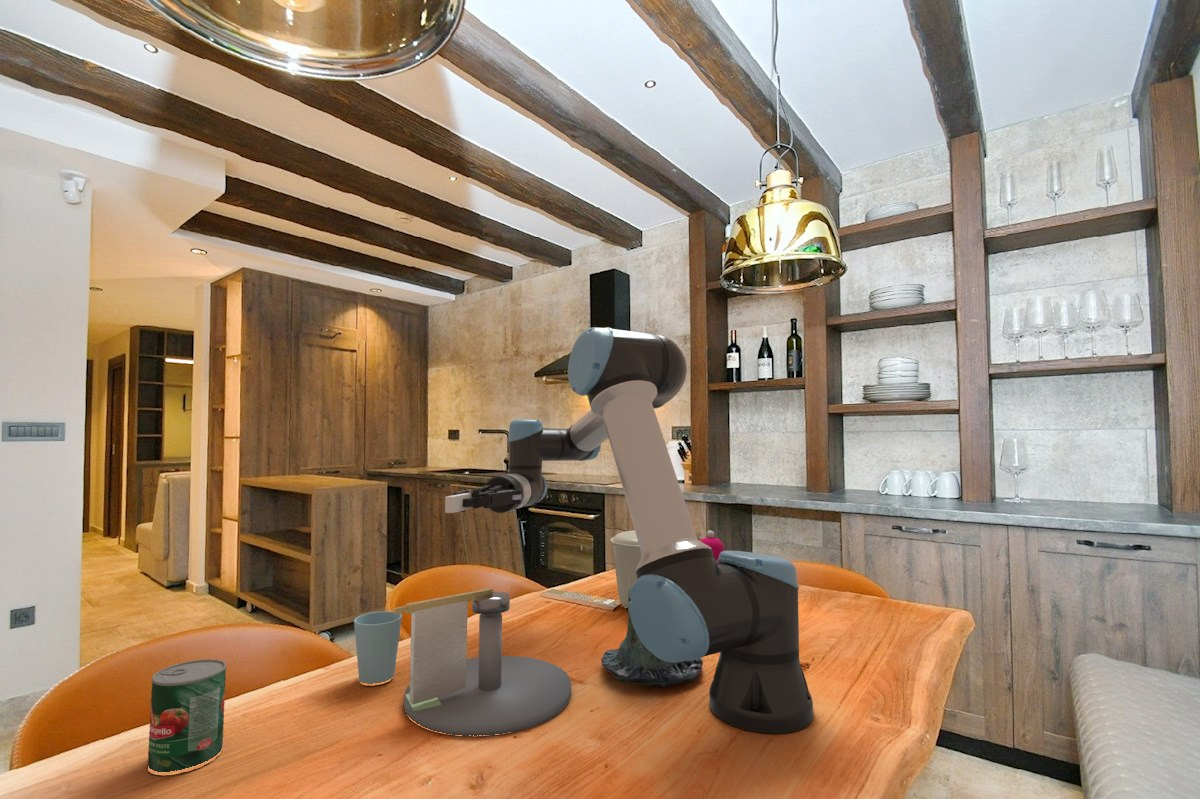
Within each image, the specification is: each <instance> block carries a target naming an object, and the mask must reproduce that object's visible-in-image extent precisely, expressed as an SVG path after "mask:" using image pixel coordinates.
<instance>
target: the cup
mask: <svg viewBox="0 0 1200 799" xmlns="http://www.w3.org/2000/svg"><path fill="white" fill-rule="evenodd" d="M402 619H403V613H400V614H394V610H393V611H390V610H389V611H388V610H387V611H386V610H383V611H382V610H381V611H374V612H368V613H364V614H360V615H359V616H357V617H355V618H354V620H353V625H354V634H355V636H354V637H355V647H356V657H357V658H356V659H357V672H358V681H360V682H362V683H367V684H373V683H381V682H385V681H387V680H389V679H391V678H392V677H393V676H394V677H395V670H396V663H397V655H398V648H399V641H400V640H399V639H400V635H401V628H402ZM360 682H359V683H360Z"/></svg>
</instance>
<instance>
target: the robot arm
mask: <svg viewBox="0 0 1200 799" xmlns="http://www.w3.org/2000/svg"><path fill="white" fill-rule="evenodd" d="M569 356H570V357H569V358H568V365H567V378H568V383H569V386H570V389H571V390H572V391H573V392H574V393H575V394H576V395H579V396H582V397H583V396H585V397H586V396H587V399H588V403H589V406H590V410H589V411H587V412H586V413H585V414H584V415H583V416H582V417H581V418H579V419H578V420H577V421H575V422H574V424H573V425H571V426H570V427H568V428H549V427H543V426H544V425H543V422H542V420H540V419H513V420H511V422H510V423H509V426H508V427H509V428H508V438H507V443H508V448H507V449H508V469H507V472H508V473H507V474H504V475H503V474H500V475H495V476H493V477H491V478H490V479H488V481H487V482H486V483H485V484H484V485H482V487H477V488H476V489H467V488H463V489H461V490H458V491H456V492H455V491H454V492H452V495H447V496H445V501H444V502H445V503H444V504H445V505H444V506H445V507H444V513H445V514H454V513H459V512H460V513H464V512H466V511H469V510H472V509H479V508H484V509H489V510H491V512H494V513H497V514H503V513H507V512H510V513H514V512H515V510H516V509H520V508H523V507H529V506H530V507H531V506H533V505H536V504H537V503H539V502H541V501H542V500H543V499H544V498H545V497H546V495H547V492H548V482H547V479H546V478H545V476H544V475H543V473H542V472H543V471H542V470H543V462H547V461H548V462H549V461H550V462H555V461H556V462H559V461H560V462H561V461H570V462H571V461H573V462H574V461H577V462H583V461H590V460H595V459H596V458H597V457H598V455H599V453H600V451H601V446H602V444H603V443H604V442H606V441H607V440H609V441H608V442H609V445H610V448H611V451H612V454H613V458H614V462H615V466H616V468H617V473H618V475H619V479H620V482H621V487H622V490H623V494H624V497H625V500H626V504H627V507H628V511H629V514H630V517H631V522H632V525H633V529H634V530H635V533H636V536H637V540H638V543H639V547H640V550H641V554H642V557H641V560H640V562H639V564H638V566H637V567H636V574H637V578H638V580H636V581H635V582H634V584H633V585H632V587H631V590H630V594H629V597H630V599H631V601H630V602H629V610H628V611H629V612H630V617H631V621H632V624H633V627H634V629H635V631H636V634H637V635H638V637H639V639H640V641H641V642H642V643H643V645H644V646H645V647H646V649H647V650H648V651H650V652H652V653H653V654H654V656H656V657H657V658H659V659H660V660H663V661H666V662H670V663H677V662H682V661H694V660H697V659H702V658H705V657H708V656H712V655H715V654H719V657H718V660H717V663H716V667H715V670H714V675H713V678H712V682H711V684H710V686H709V691H708V694H709V695H708V696H709V697H708V698H709V700H708V701H709V705H708V706H709V708H710V711H711V712H712V714H714V715H715V716H716V717H717V718H718V719H720V720H721V721H723V722H725V723H727V724H729V725H731V726H734V727H736V728H739V729H742V730H746V731H749V732H750V731H751V732H757V733H764V734H765V733H766V734H787V733H791V732H792V733H793V732H798V731H800V730H803V729H805V728H807V727H808V726H809V725H810V724H812V722H813V719H814V702H813V698H812V694H811V692H810V690H809V686H808V683H807V680H806V679H807V678H806V677H805V673H804V671H803V668H802V665H801V662H800V638H799V637H800V634H799V633H800V631H799V630H800V629H799V628H800V626H799V620H800V619H799V590H800V586H799V583H798V574H797V567H796V566H795V565H794V563H793V562H792V561H790V560H788V559H787V558H784V557H780V556H775V555H769V554H765V553H758V552H751V551H750V552H748V551H741V550H724V551H722V552H721V553H720V554H719V558H718V563H719V565H717V563H716V561H715V557H714V554H713V552H712V549H711V547H709V546H708V545H706V544H704V543H702V542H700V541H701V540H699V539H698V537H697V534H696V531H695V529H694V526H693V523H692V519H691V516H690V513H689V509H688V507H687V504H686V501H685V498H684V495H683V492H682V489H681V486H680V483H679V481H678V476H677V474H676V472H675V471H676V470H675V468H674V466H673V462H672V459H671V456H670V453H669V451H668V450H669V449H668V447H667V444H666V441H665V438H664V435H663V432H662V429H661V426H660V423H659V420H658V418H657V417H658V416H657V415H656V412H655V411H656V410H655V409H659V408H661V407H663V406H665V405H666V404H667V403H668V402H671V400H673V398H675V397H676V395H678V394H679V392H680V391H681V389H682V388H683V386H684V384H685V381H686V378H687V372H688V370H687V361H686V358H685V354H684V353H683V351H682V349H681V348H680V347H679V345H678V344H676V342H674V340H672V339H671V338H668V337H667V336H664V335H660V334H657V333H646V332H639V331H631V330H625V329H624V330H623V329H615V328H611V327H609V326H608V327H607V326H606V327H595V326H594V327H590V328H586V329H585V330H583V331H582V332H581V333H580V335H579V336H578V337H577V339H576V340H575V342H574V343H573V347H572V349H571V352H570V355H569Z"/></svg>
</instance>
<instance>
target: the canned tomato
mask: <svg viewBox="0 0 1200 799" xmlns="http://www.w3.org/2000/svg"><path fill="white" fill-rule="evenodd" d="M226 670H227V663H226V661H224V660H220V659H213V658H211V659H210V658H205V659H195V660H189V661H184V662H180V663H176V664H173V665H169V666H166V667H165V668H162V669H161V670H158V671H156V673H154V674H153V675H152V676H151V690H150V691H151V692H150V693H151V695H150V696H151V698H150V714H149V715H150V716H149V717H150V718H149V732H148V737H149V738H148V746H147V748H148V752H147V757H148V758H147V766H149V768H150V769H152V770H154V771H157V772H170V771H175V770H176V771H177V770H182V769H185V768H189V767H192V766H196V765H198V764H201V763H203V762H205V761H208V760H209V759H211V758H213V757H214V756H216V755H217V754H218V753H219V752H220V751H221V749H222V746H223V741H224V723H225V722H224V721H225V720H224V718H225V704H226V703H225V700H226V696H225V694H226V681H227V680H226Z"/></svg>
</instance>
